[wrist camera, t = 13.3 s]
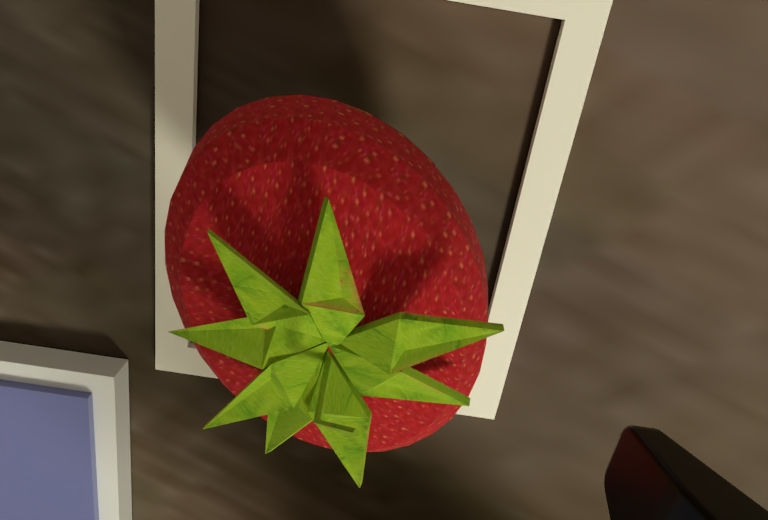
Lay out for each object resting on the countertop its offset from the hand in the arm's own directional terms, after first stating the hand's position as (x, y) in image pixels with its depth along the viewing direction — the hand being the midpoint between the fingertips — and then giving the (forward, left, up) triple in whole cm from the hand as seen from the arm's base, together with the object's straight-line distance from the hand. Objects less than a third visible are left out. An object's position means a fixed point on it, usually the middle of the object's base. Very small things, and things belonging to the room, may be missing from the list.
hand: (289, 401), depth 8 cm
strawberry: (0, 0, -10) cm, 10 cm away
